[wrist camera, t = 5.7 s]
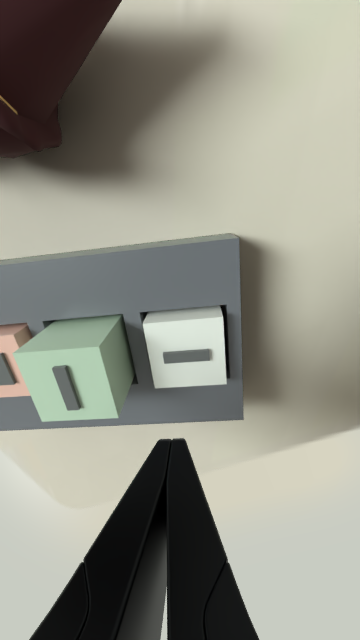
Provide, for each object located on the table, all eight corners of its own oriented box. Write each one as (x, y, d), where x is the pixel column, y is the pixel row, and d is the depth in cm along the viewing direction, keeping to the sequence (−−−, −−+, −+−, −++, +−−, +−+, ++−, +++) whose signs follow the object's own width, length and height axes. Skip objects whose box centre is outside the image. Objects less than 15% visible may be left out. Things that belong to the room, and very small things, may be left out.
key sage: (122, 314, 14) (97, 348, 10) (135, 372, 16) (117, 421, 12) (56, 320, 15) (9, 355, 11) (75, 376, 16) (39, 424, 12)
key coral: (51, 309, 17) (10, 336, 13) (68, 360, 18) (36, 397, 14) (-4, 314, 17) (-58, 342, 13) (18, 364, 19) (-26, 401, 15)
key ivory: (216, 293, 16) (223, 318, 12) (220, 349, 17) (227, 386, 13) (153, 299, 16) (141, 325, 12) (162, 353, 17) (154, 390, 14)
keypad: (230, 233, 14) (239, 237, 11) (236, 389, 18) (243, 419, 16) (-40, 264, 16) (-89, 275, 13) (23, 401, 20) (-5, 431, 17)
